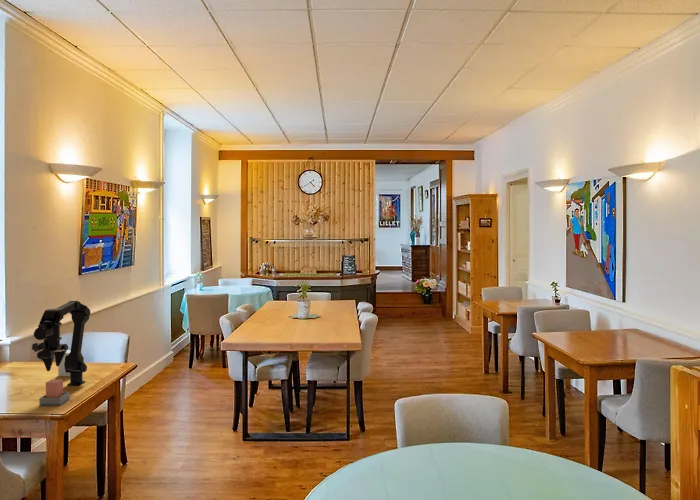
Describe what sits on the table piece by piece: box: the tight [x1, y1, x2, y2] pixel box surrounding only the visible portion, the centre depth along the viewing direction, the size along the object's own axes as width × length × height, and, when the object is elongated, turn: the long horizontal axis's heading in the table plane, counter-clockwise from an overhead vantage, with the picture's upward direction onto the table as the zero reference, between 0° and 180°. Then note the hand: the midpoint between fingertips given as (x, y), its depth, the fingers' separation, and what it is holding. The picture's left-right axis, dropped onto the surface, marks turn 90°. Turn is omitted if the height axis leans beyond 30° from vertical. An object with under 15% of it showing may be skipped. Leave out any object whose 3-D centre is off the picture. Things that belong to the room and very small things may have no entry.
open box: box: [38, 391, 70, 407], centre depth 242 cm, size 9×9×4 cm
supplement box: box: [57, 349, 71, 377], centre depth 289 cm, size 7×7×13 cm
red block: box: [45, 378, 64, 398], centre depth 242 cm, size 5×5×9 cm
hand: (53, 368), depth 251 cm, fingers open, 9 cm apart
